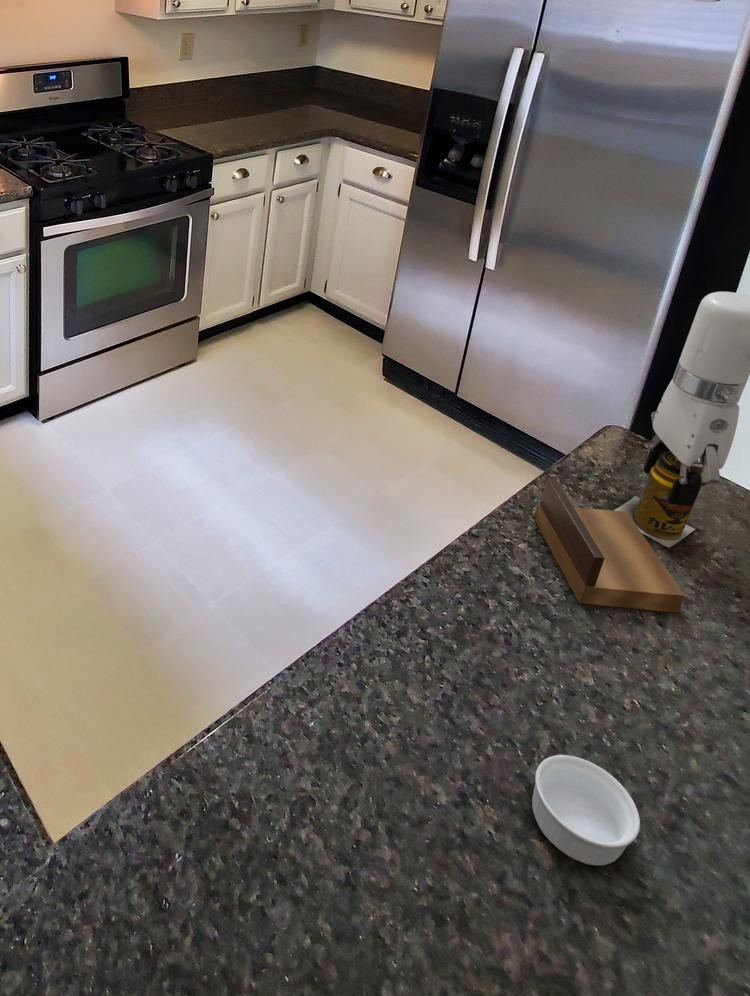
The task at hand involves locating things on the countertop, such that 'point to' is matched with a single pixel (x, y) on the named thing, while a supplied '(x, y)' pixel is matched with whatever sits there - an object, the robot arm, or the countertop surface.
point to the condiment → (660, 504)
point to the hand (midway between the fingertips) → (667, 487)
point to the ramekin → (583, 810)
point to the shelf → (604, 555)
